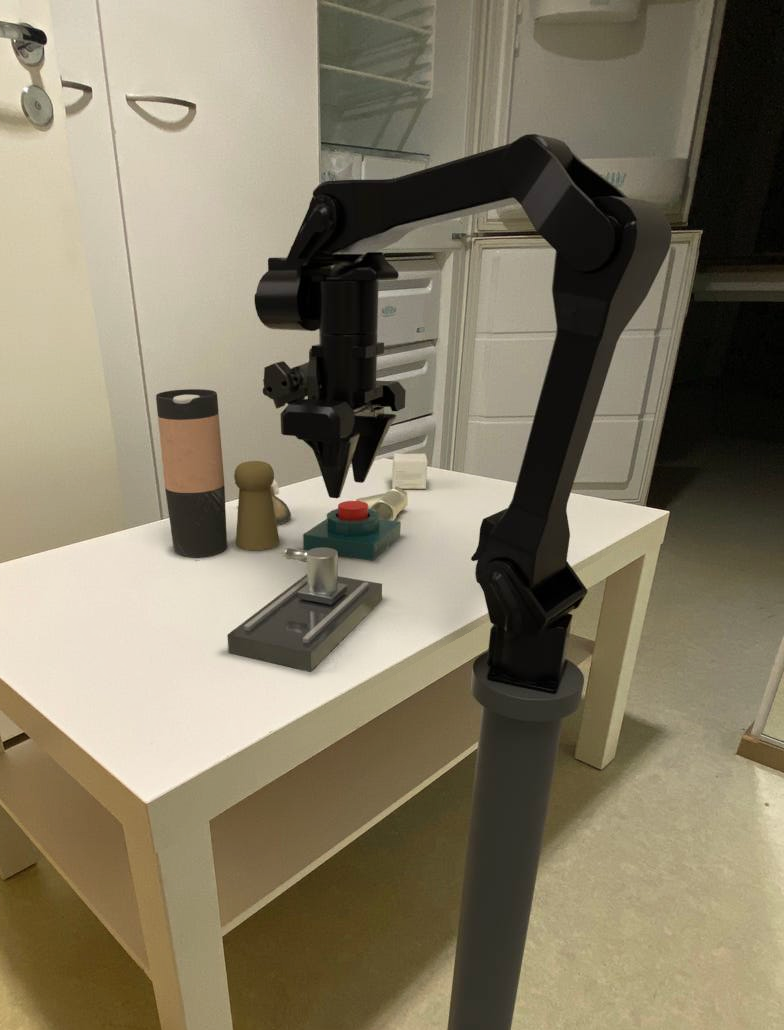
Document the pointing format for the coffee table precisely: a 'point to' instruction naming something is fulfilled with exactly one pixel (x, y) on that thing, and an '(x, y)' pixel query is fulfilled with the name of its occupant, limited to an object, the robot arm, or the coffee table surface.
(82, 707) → the coffee table surface
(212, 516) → the travel mug
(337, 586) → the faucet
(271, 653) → the slide rail base
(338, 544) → the button block
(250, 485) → the brown tapered upright piece
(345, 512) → the button
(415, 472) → the small box
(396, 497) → the pipe fitting
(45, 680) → the coffee table surface
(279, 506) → the eagle figurine
